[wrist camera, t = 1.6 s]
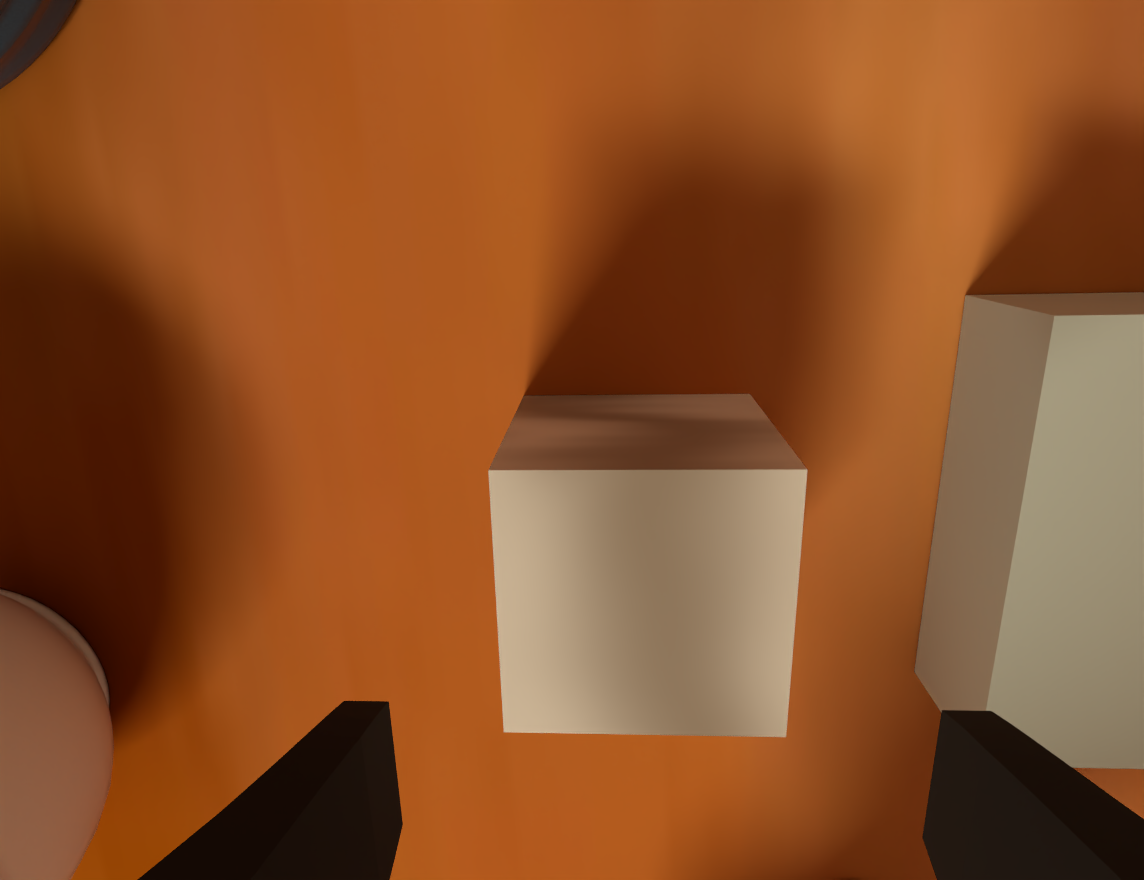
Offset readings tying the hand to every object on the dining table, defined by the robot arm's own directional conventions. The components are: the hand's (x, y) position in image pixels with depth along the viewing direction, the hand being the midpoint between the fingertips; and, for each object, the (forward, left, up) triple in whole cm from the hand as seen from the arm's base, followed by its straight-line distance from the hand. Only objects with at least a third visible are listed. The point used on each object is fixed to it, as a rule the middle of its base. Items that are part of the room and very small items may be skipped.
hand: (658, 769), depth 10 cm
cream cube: (0, 0, -10) cm, 10 cm away
